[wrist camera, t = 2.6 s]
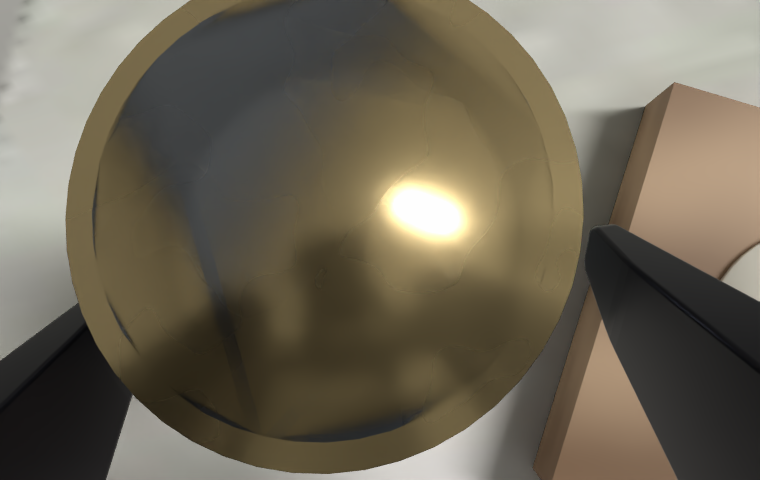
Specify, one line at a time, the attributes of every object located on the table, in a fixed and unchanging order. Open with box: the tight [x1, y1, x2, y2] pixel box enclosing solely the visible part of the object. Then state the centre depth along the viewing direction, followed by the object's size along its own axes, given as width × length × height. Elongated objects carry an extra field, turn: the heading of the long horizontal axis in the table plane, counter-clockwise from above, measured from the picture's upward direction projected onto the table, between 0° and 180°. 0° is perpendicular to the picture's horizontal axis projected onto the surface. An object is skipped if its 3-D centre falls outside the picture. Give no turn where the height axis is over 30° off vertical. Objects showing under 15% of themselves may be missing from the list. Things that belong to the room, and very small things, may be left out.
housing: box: [66, 0, 583, 474], centre depth 12 cm, size 6×6×13 cm
